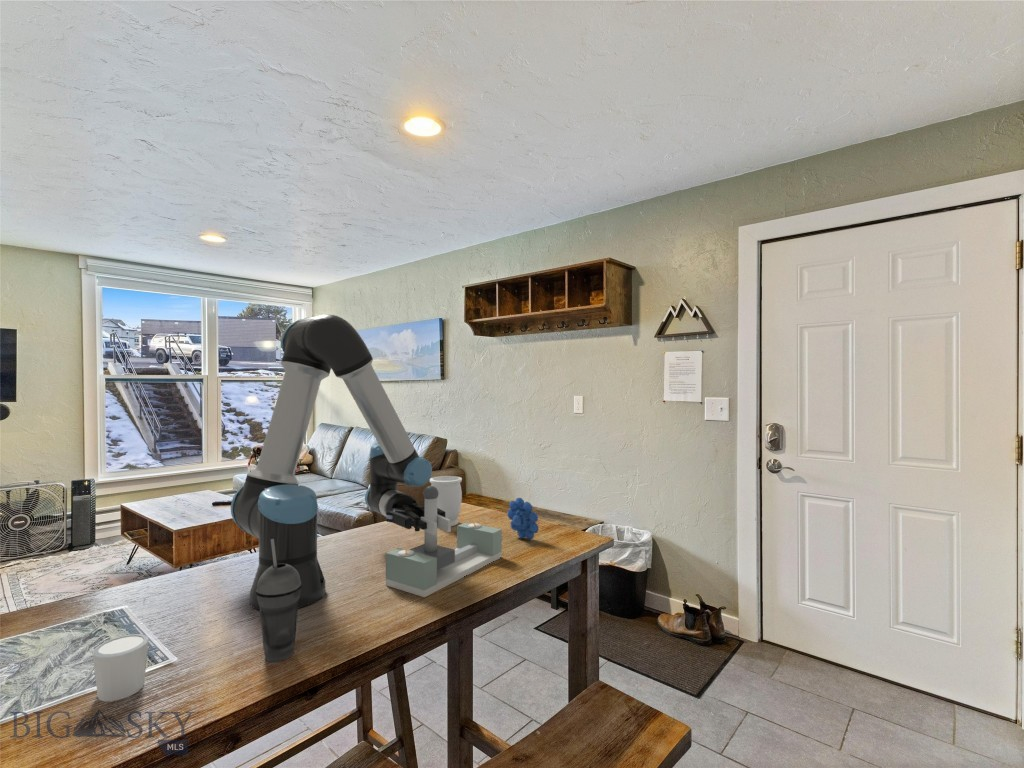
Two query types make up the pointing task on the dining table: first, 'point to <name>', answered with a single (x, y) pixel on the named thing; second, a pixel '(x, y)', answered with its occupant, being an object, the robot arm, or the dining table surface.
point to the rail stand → (425, 579)
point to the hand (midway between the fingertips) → (442, 527)
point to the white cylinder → (120, 666)
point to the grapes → (523, 518)
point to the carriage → (430, 541)
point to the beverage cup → (278, 608)
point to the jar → (448, 496)
